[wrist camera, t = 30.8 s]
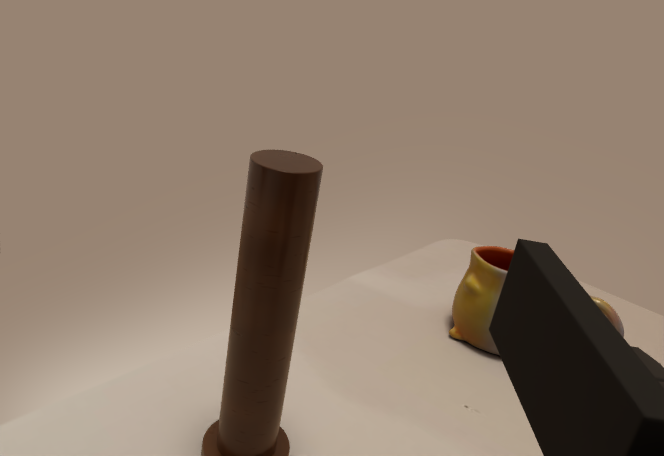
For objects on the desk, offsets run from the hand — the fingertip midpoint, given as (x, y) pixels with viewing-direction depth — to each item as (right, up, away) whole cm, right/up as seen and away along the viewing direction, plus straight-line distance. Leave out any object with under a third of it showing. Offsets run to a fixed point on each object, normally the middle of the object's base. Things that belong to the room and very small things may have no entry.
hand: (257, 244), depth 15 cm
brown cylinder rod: (-3, -11, +15) cm, 19 cm away
